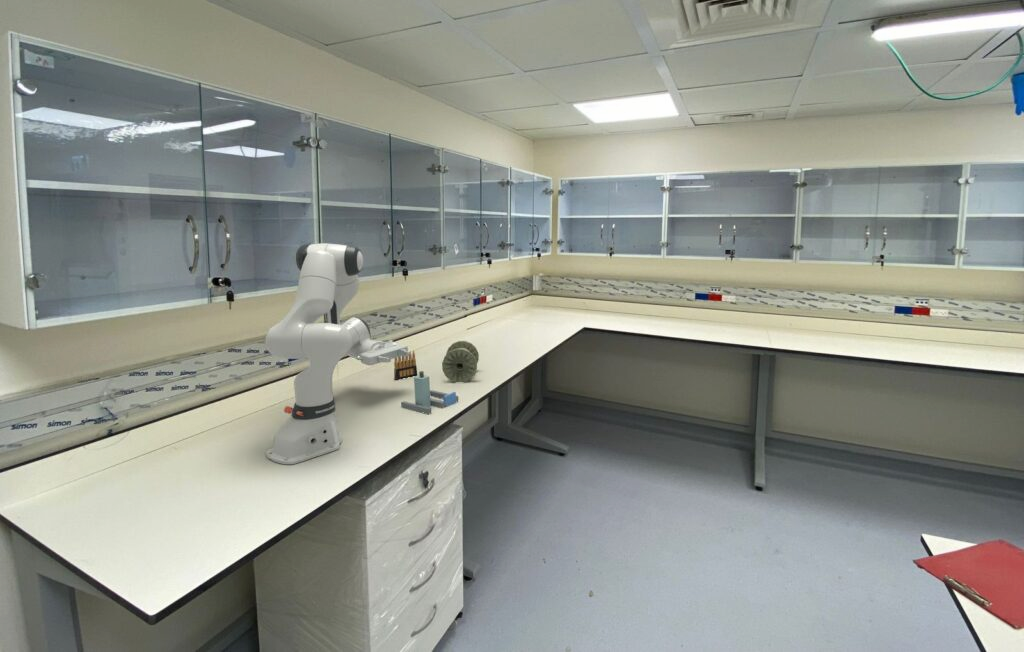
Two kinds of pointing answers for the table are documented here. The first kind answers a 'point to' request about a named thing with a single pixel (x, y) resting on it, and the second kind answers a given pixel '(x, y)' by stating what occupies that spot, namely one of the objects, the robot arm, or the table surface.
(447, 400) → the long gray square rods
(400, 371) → the ammunition clip
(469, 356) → the spool
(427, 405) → the capped teal pillar
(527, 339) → the table surface
